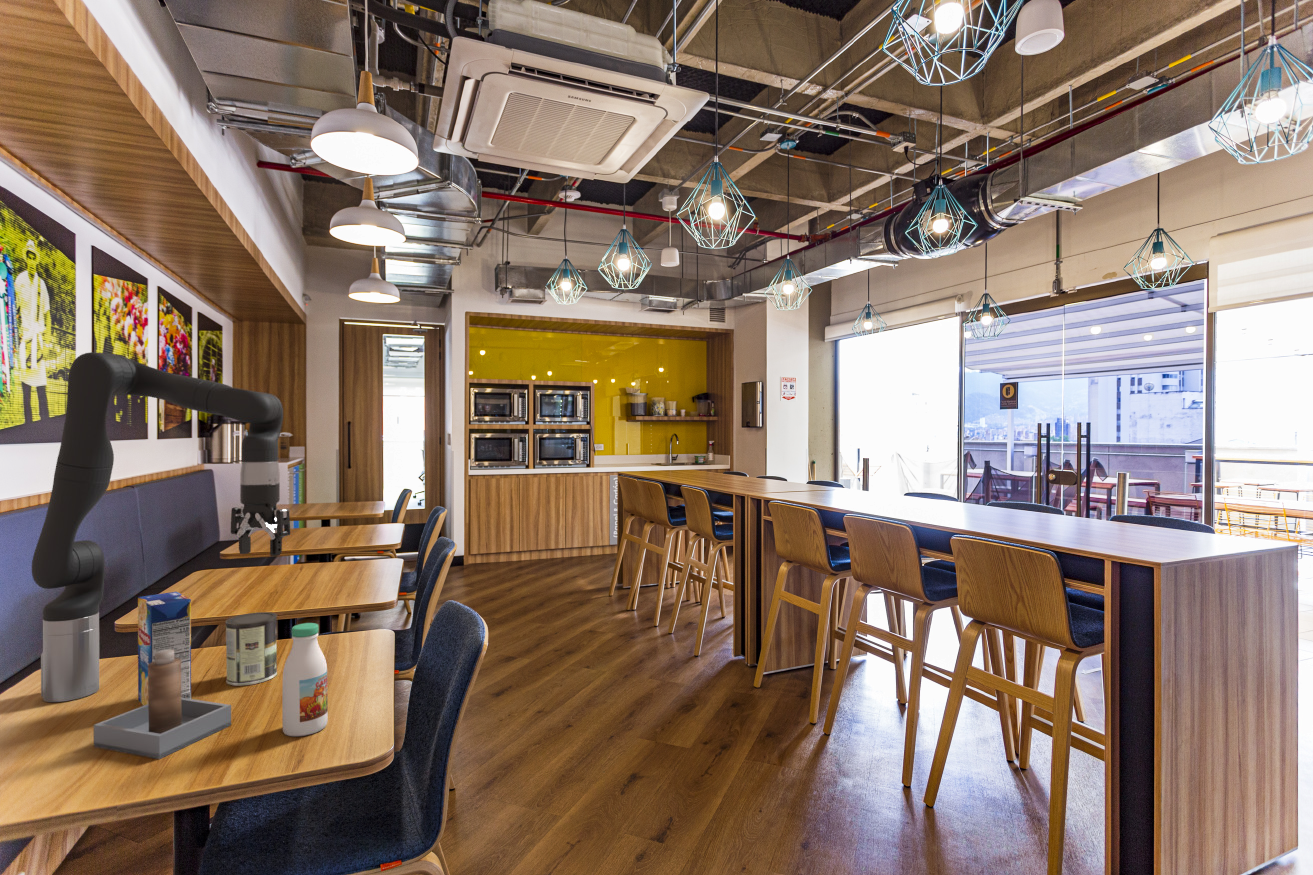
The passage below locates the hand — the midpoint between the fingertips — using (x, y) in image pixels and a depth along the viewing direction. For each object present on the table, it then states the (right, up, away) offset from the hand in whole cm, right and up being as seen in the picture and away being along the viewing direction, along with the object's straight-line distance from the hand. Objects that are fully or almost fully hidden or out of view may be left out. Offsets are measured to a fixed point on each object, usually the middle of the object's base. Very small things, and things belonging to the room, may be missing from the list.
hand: (260, 554), depth 148 cm
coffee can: (-6, -30, +7) cm, 32 cm away
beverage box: (-17, -30, -6) cm, 35 cm away
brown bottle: (-5, -29, -22) cm, 37 cm away
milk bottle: (+20, -31, -19) cm, 41 cm away
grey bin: (-5, -30, -22) cm, 38 cm away
